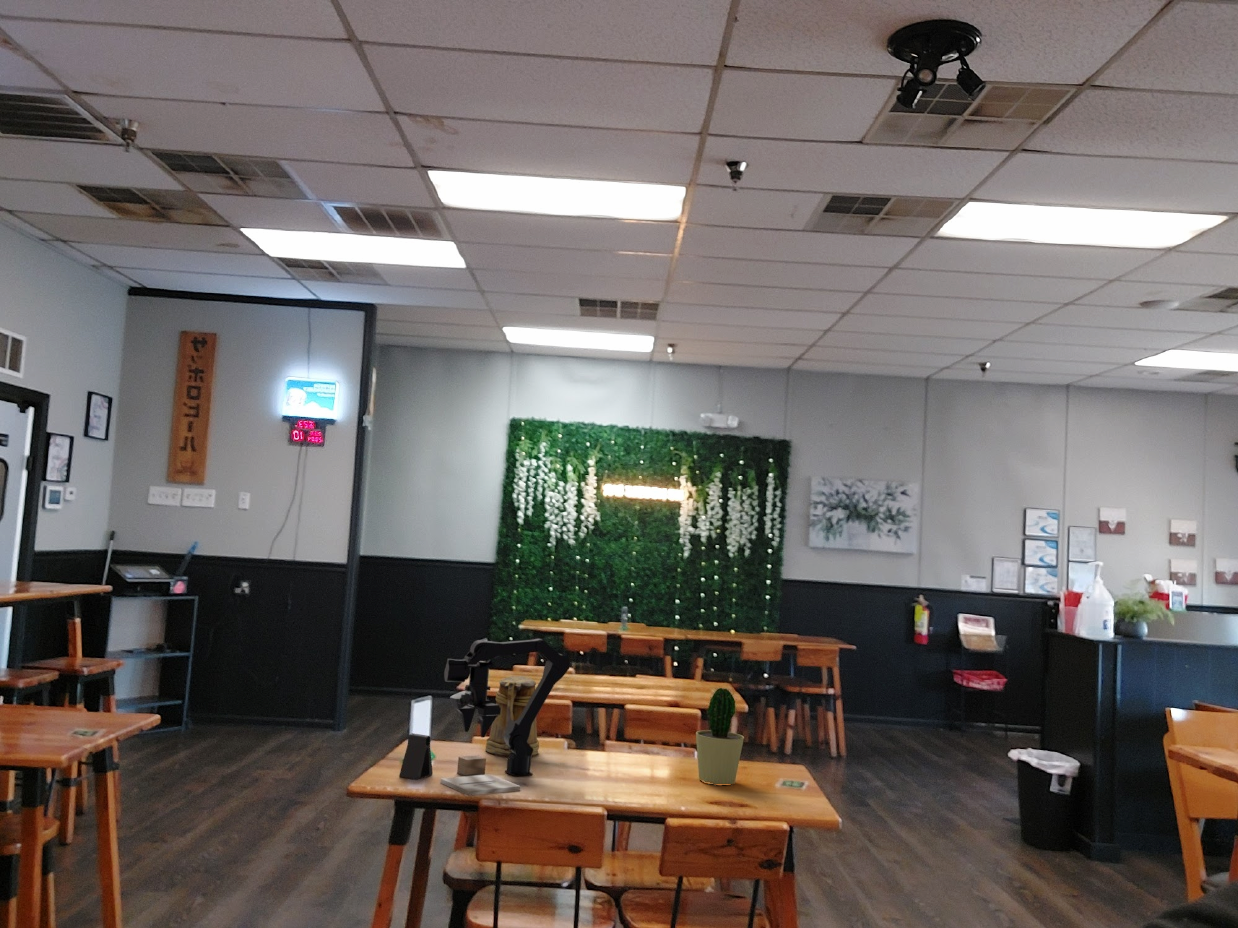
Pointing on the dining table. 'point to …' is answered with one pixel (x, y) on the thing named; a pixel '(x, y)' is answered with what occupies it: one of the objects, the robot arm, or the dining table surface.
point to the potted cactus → (719, 742)
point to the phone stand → (417, 758)
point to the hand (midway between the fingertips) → (474, 734)
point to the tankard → (511, 713)
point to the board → (480, 784)
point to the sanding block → (471, 765)
